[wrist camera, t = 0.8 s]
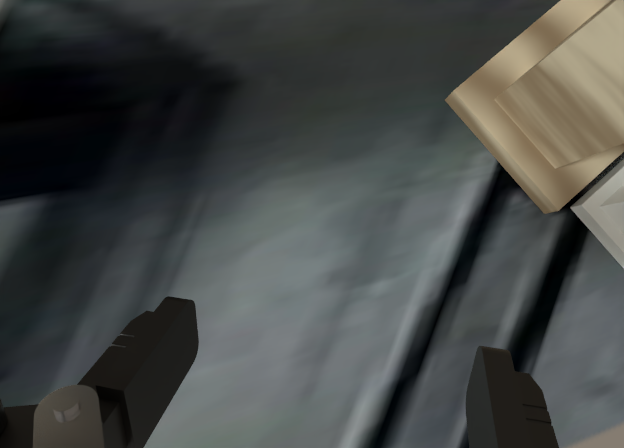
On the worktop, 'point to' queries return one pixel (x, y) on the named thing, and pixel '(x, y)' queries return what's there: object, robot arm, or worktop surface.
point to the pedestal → (605, 211)
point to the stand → (553, 100)
